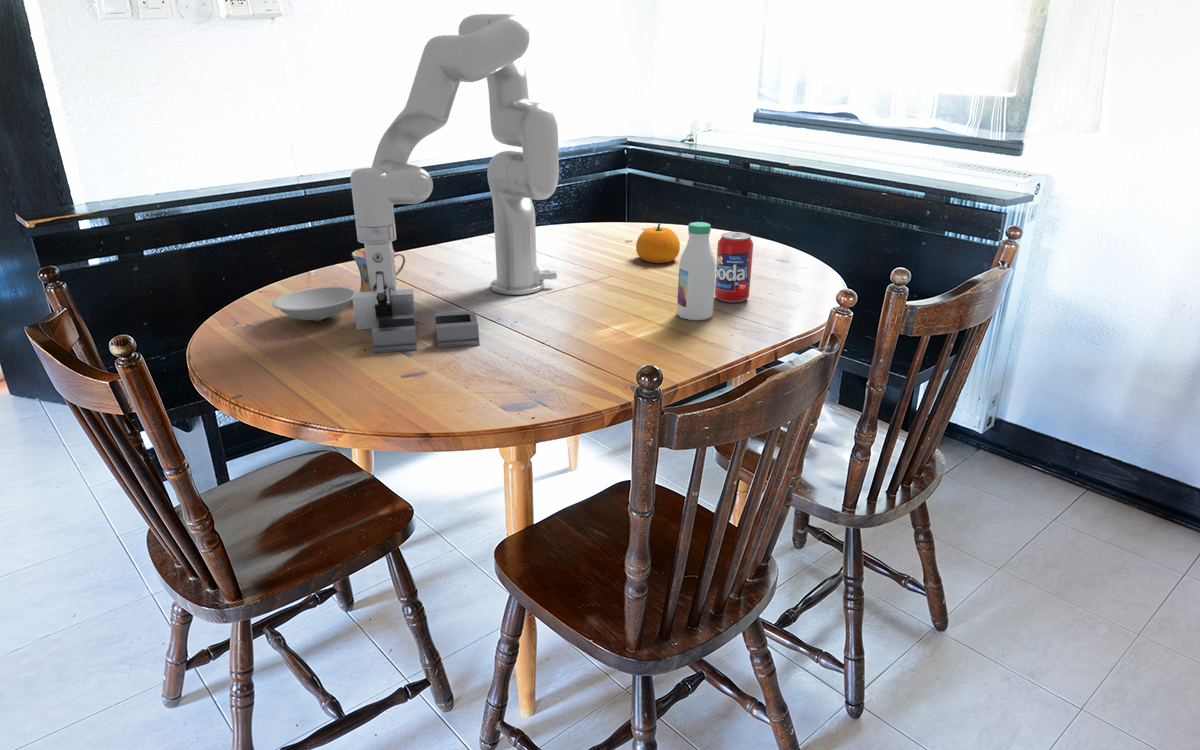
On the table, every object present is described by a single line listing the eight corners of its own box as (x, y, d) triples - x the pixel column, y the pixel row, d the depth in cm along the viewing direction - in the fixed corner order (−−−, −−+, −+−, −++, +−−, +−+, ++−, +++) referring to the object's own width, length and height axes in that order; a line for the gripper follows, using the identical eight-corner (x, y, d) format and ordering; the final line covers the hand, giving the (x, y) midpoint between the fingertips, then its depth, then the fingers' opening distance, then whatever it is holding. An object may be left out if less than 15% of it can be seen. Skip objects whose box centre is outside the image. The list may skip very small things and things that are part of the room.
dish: (292, 338, 158) (288, 315, 156) (264, 320, 168) (260, 298, 166) (373, 319, 169) (370, 296, 167) (342, 303, 178) (339, 281, 176)
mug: (366, 306, 177) (361, 259, 172) (351, 295, 183) (345, 250, 179) (416, 296, 183) (412, 251, 179) (399, 286, 190) (395, 243, 186)
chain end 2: (475, 327, 164) (474, 309, 162) (479, 345, 155) (478, 325, 153) (436, 330, 162) (434, 312, 161) (438, 348, 153) (436, 328, 152)
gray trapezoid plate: (415, 320, 169) (412, 288, 166) (416, 326, 165) (413, 294, 162) (357, 324, 166) (353, 292, 163) (356, 330, 163) (352, 297, 160)
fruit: (687, 258, 215) (688, 222, 211) (666, 268, 206) (667, 230, 202) (649, 252, 220) (650, 216, 216) (627, 262, 211) (628, 224, 207)
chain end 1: (416, 332, 161) (414, 313, 160) (416, 349, 153) (415, 330, 151) (375, 335, 160) (373, 316, 158) (373, 353, 151) (371, 333, 149)
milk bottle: (715, 312, 174) (721, 221, 166) (708, 323, 167) (714, 229, 159) (681, 308, 176) (685, 218, 168) (672, 319, 170) (676, 226, 162)
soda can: (752, 296, 184) (758, 233, 178) (743, 306, 177) (748, 240, 171) (720, 292, 187) (724, 229, 181) (709, 301, 180) (713, 236, 174)
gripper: (395, 241, 151) (404, 329, 158) (396, 222, 166) (404, 302, 173) (354, 243, 149) (365, 332, 156) (359, 223, 165) (368, 304, 172)
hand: (385, 315), depth 165 cm, fingers open, 7 cm apart
